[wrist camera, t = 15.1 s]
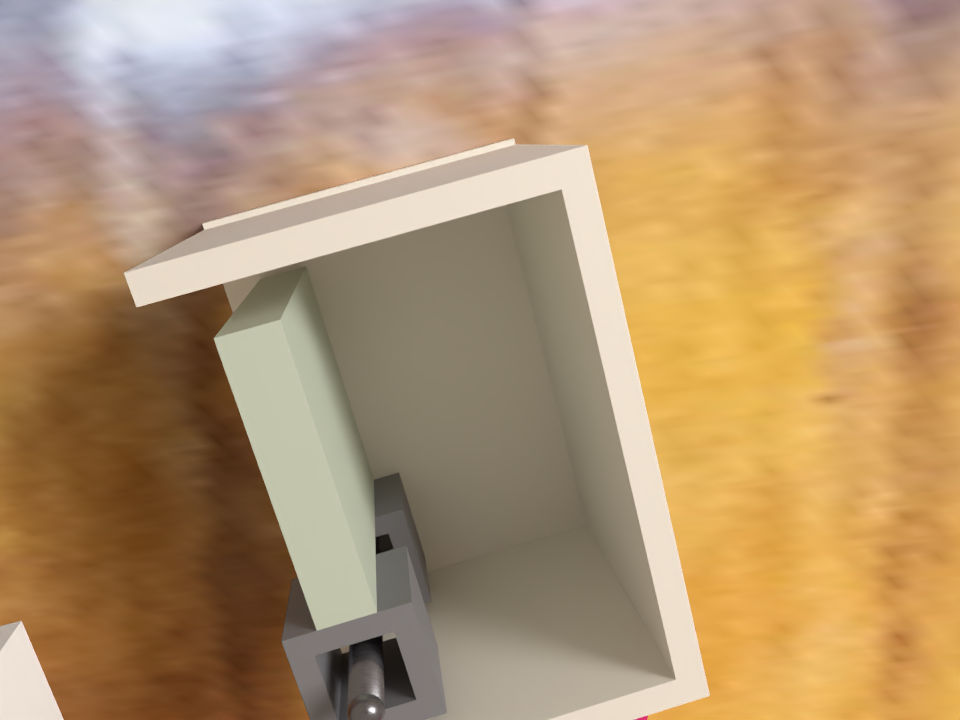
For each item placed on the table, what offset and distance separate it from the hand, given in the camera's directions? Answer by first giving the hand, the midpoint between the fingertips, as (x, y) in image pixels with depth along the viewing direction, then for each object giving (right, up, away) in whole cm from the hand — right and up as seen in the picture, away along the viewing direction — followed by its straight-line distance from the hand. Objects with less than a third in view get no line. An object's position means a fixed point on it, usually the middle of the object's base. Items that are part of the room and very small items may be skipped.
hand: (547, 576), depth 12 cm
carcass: (-4, +1, +36) cm, 37 cm away
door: (-9, -1, +35) cm, 36 cm away
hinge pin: (-7, -6, +37) cm, 38 cm away
